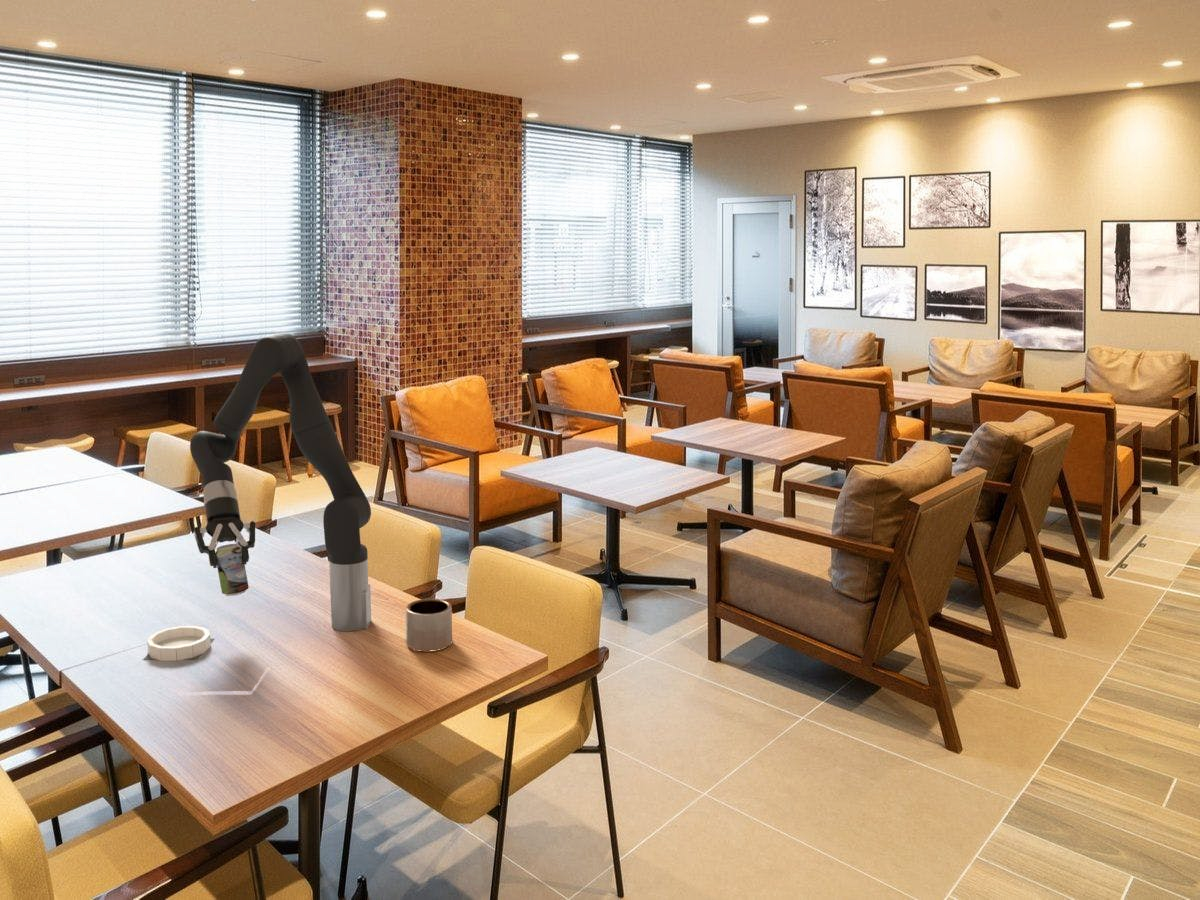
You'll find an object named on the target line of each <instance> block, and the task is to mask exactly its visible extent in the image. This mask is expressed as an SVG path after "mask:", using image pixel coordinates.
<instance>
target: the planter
mask: <svg viewBox="0 0 1200 900" xmlns="http://www.w3.org/2000/svg"><path fill="white" fill-rule="evenodd" d="M452 610H453V609H452V604H451V603H450V602H449V601H447V600H445V599H439V598H423V599H418V600H413V601H412V602H410V603H408V604H407V605H406V607H405V619H406V620H405V623H406V624H405V625H406V626H405V627H406V629H405V630H406V631H405V636H406V639H405V643H406V646H407V647H408V648H409V647H410V649H411V648H412V649H411V650H413V649H415V650H421V651H430V650H438V649H442V648H444V647H447V646H448V645H449V644H450V645H452V643H453V611H452ZM451 642H452V643H451ZM450 645H449V646H450ZM449 646H448V647H449ZM448 647H447V648H448ZM415 650H414V651H415Z"/></svg>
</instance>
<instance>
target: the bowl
mask: <svg viewBox="0 0 1200 900" xmlns="http://www.w3.org/2000/svg"><path fill="white" fill-rule="evenodd" d="M210 639H211V633H210V632H209V629H207V628H206V627H201V626H198V625H181V626H180V625H179V626H174V627H167V628H164V629H162V630H159V631H157V632H154V633H152V634H151V635H150V636H149V637H148V638H147V639H146V642H147V643H146V645H147V653H148V654H149V655H150V657H151V658H154V659H157V660H156V661H161V662H163V661H164V662H166V661H167V662H169V661H171V662H176V661H184V660H183V659H188V658H193V657H195V656H198V655H200V654H202V655H203V654H204V653H206V652H207V651H208V650H209V649H210V647H211V646H212V645H211V644H212V643H211V640H210Z"/></svg>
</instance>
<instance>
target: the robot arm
mask: <svg viewBox="0 0 1200 900" xmlns="http://www.w3.org/2000/svg"><path fill="white" fill-rule="evenodd" d="M276 374H280V375H281V378H282V380H283V383H284V384H285V386H286V389H287V391H288V396H289V423H290V427H291V431H292V434H293V437H294V439H295V441H296V443H297V445H298V448H299V450H300V452H301V453H302V456H304V458H305V459H306V460H307V462H308V463H309V464H310V465H311V466H312V467H313V468H314V469H315V470H316V471H318V473H319V474H320V475H321V476H322V477H323V479H324V481H325V482H326V484H327V486H328V488H329V490H330V492H331V495H332V499H333V500H332V501H330V502H329V503H328V504H327V505H326V506H325V508H324V511H323V520H322V523H323V533H324V534H323V535H324V537H323V538H324V545H325V550H326V552H327V554H328V561H329V563H328V564H329V565H328V567H329V587H330V588H329V589H330V591H329V592H330V593H329V594H330V613H331V615H330V617H331V619H330V620H331V628H333V629H334V630H336V631H342V632H353V631H359V630H367V629H368V628H369V625H370V623H371V622H372V602H371V597H372V596H371V595H372V594H371V584H369V568H368V567H369V564H368V563H369V561H368V559H369V557H368V556H369V555H368V548H367V546H366V545H364V544H363V543H361V531H360V530H361V529H362V528H363V527H365V525H367V524H368V522H369V521H370V520H371V516H372V509H371V505H370V501H369V500H368V498H367V496H366V494H365V492H364V491H363V489H362V487H361V485H360V484H359V482H358V480H357V478H356V476H355V474H354V473H353V471H352V469H351V467H350V464H349V461H348V459H347V457H346V455H345V453H344V450H343V448H342V446H341V444H340V441H339V438H338V436H337V434H336V431H335V428H334V426H333V424H332V421H331V420H330V418H329V415H328V413H327V411H326V409H325V407H324V404H323V402H322V399H321V397H320V394H319V392H318V390H317V387H316V385H315V381H314V380H313V375H312V373H311V371H310V367H309V363H308V360H307V357H306V354H305V352H304V349H303V346H302V344H301V342H300V341H299V340H298V338H297V337H295V336H294V335H292V334H291V333H286V332H280V333H276V334H275V333H274V334H270V335H266V336H263V337H260V338H259V339H257V341H256V342H255V344H254V345H253V347H252V349H251V351H250V353H249V356H248V358H247V360H246V363H245V365H244V367H243V369H242V371H241V374H240V376H239V378H238V381H237V383H236V384H235V387H234V388H233V389H232V391H231V392H230V395H229V396H228V397H227V398H226V401H225V403H224V404H223V405H222V406H221V408H220V410H219V411H218V412H217V414H216V416H215V417H214V420H213V426H214V429H216V430H217V431H218V433H216V432H211V431H205V430H200V431H198V432H196V433H194V434H193V436H192V437H191V439H190V443H189V449H190V454H191V457H192V459H193V461H194V463H195V466H196V467H197V469H198V472H199V473H200V476H201V479H202V486H203V505H204V511H205V518H206V519H205V520H206V525H205V526H203V527H199V526H196V527H194V528H193V529H194V530H193V535H194V538H195V541H196V545H197V548H198V551H199V553H200V554H207V555H208V562H209V566H210V567H213V569H218V568H217V561H216V554H215V553H216V549H217V546H218V544H219V543H225V542H234V544H238V545H239V547H240V548H241V549H242V555H243V564H244V565H245V566H246V565H247V563H248V562H249V560H250V555H249V554H250V553H249V549H253V548H254V547H255V543H256V522H255V521H250V522H243V520H242V519H241V513H240V508H239V501H238V495H237V490H236V488H235V483H234V482H235V481H234V476H233V471H232V468H231V467H230V466H229V464H227V462H230V460H231V459H232V460H233V458H234V456H235V453H236V451H237V448H238V442H239V440H240V437H241V435H242V432H243V430H244V429H245V428H246V426H247V425H248V423H249V422H250V420H251V419H252V417H253V416H254V413H255V411H256V409H257V406H258V401H259V396H260V394H261V392H262V391H263V389H264V387H265V385H266V384H267V383H268V382H269V381H270V380H271V379H273V377H274V376H276ZM219 433H220V434H219ZM243 529H244V530H245V531H246V533H248V534H249V535H248V541H246V539H245V538H244V536H243V535H242V533H241V532H242V531H243ZM205 533H207V534H208V536H210V537H211V540H210V543H209V545H206V544H205V541H204V537H205Z"/></svg>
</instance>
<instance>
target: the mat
mask: <svg viewBox="0 0 1200 900" xmlns="http://www.w3.org/2000/svg"><path fill="white" fill-rule="evenodd" d="M210 640H211V644H212V643H213V641H214V640H215V638H210ZM202 655H203V653H202V654H200V655H198V656H195V657H193V658H188V659H183V660H182V661H197V660H199V658H200V657H201V656H202ZM142 661H158V660H157V659H154V658H151V657H150V655H149V653H148V654H147V655H146V656H145V657H144V658H143V659H142Z"/></svg>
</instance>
